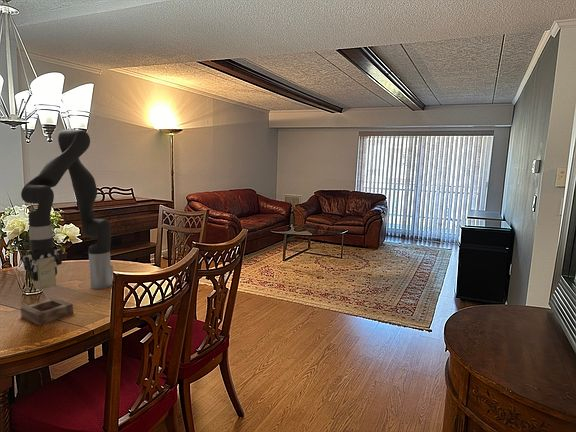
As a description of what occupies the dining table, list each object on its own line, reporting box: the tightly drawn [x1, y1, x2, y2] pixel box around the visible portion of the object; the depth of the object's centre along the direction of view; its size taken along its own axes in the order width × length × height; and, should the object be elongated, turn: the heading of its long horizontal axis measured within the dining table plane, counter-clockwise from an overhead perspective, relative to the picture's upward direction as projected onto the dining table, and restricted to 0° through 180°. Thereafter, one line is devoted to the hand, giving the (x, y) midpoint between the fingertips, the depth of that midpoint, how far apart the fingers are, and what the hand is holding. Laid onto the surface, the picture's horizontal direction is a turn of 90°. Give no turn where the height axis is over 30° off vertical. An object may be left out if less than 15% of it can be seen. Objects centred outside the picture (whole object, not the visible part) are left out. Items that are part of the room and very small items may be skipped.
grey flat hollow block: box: [20, 297, 74, 326], centre depth 152 cm, size 13×13×4 cm
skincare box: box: [31, 255, 57, 291], centre depth 150 cm, size 6×4×12 cm
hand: (44, 278), depth 150 cm, fingers closed on skincare box, 6 cm apart
